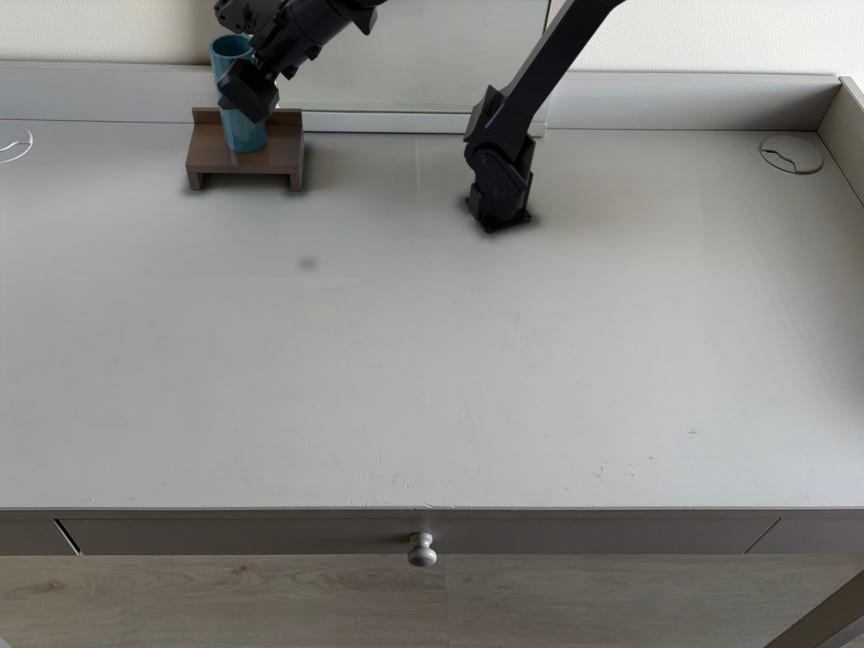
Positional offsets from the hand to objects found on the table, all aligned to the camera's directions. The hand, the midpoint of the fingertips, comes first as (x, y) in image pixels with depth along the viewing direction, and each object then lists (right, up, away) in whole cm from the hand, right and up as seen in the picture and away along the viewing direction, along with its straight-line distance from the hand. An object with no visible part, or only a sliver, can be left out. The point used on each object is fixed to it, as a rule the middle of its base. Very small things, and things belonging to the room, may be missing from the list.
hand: (229, 92), depth 94 cm
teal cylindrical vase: (+1, -4, +5) cm, 7 cm away
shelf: (+1, -7, +8) cm, 11 cm away
